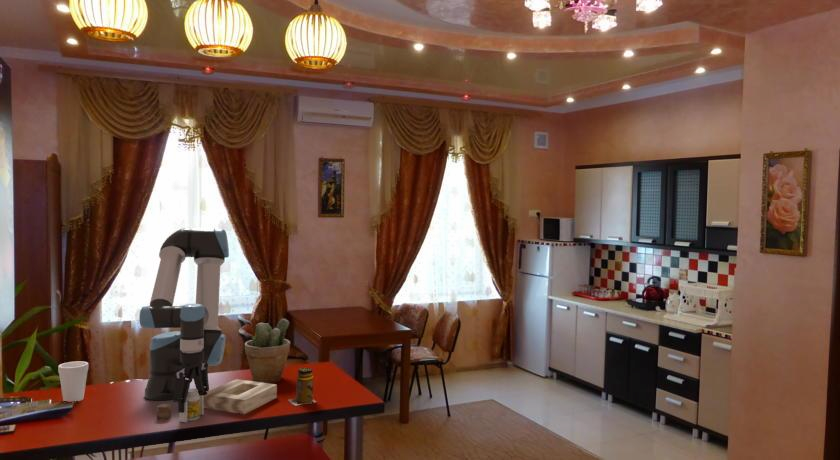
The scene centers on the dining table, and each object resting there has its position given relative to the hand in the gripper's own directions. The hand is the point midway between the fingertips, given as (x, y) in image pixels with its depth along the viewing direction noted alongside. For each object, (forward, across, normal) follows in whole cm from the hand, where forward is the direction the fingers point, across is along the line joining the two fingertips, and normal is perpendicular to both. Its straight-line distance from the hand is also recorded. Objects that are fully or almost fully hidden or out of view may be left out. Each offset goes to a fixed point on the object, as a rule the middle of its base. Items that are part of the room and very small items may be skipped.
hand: (191, 417), depth 204 cm
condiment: (+1, +30, -25) cm, 39 cm away
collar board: (0, +20, -5) cm, 21 cm away
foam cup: (0, -1, +52) cm, 52 cm away
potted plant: (0, +49, +3) cm, 49 cm away
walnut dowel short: (0, -3, +9) cm, 9 cm away
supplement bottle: (+1, 0, 0) cm, 1 cm away
